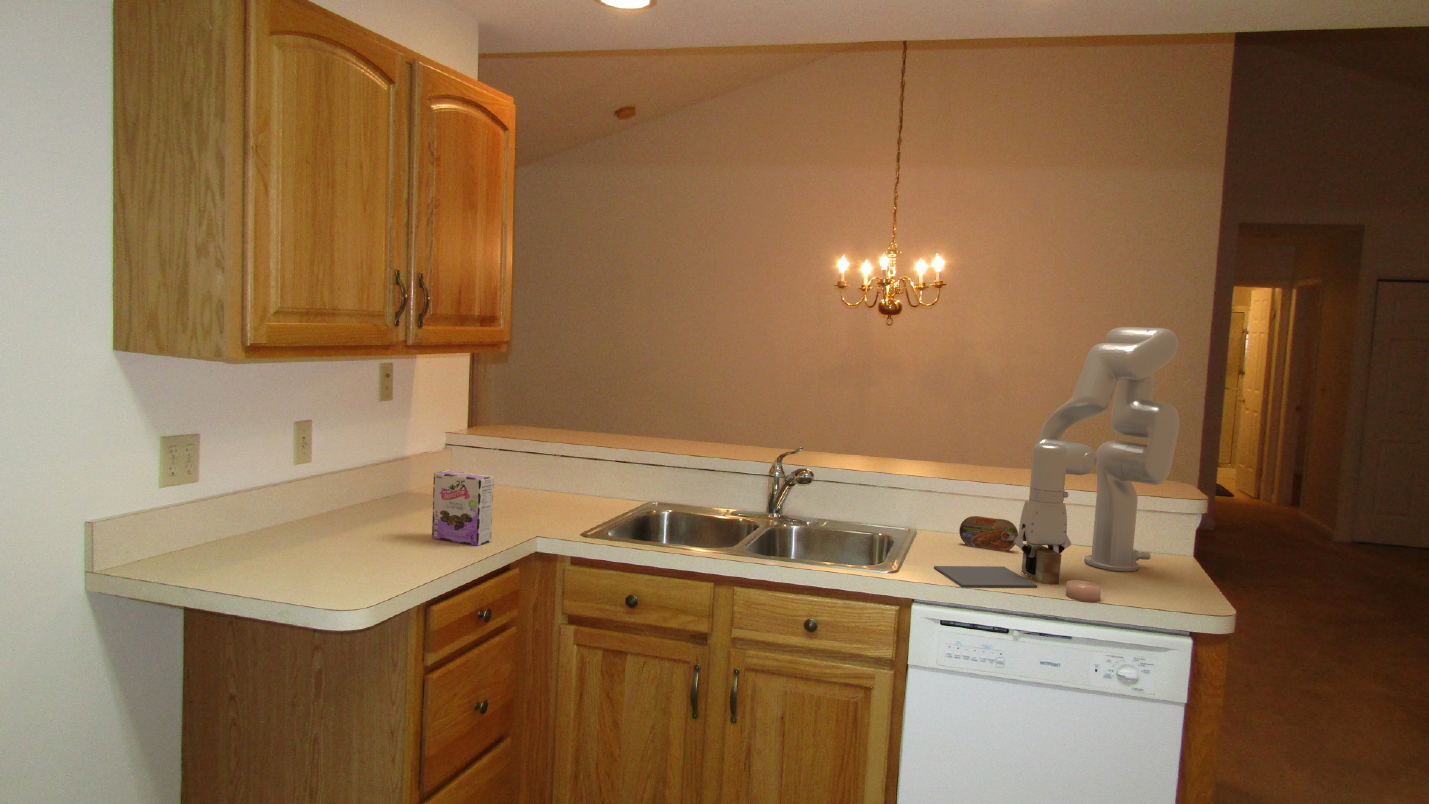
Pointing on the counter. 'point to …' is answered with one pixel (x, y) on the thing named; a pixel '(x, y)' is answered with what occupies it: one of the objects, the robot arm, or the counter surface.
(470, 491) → the candy box
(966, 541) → the tin
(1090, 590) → the pink round puck
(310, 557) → the counter surface
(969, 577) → the mat
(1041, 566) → the slab
